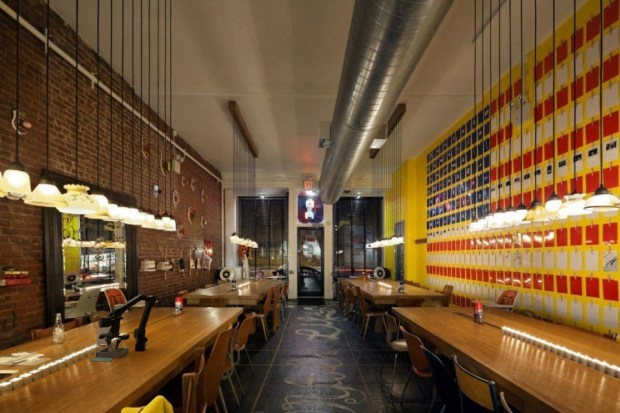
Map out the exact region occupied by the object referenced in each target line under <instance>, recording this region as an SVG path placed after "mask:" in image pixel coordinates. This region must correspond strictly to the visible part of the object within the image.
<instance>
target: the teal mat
mask: <svg viewBox="0 0 620 413" xmlns="http://www.w3.org/2000/svg"><path fill="white" fill-rule="evenodd" d="M113 360H114V358H109V357H96V356H95V357H94V358H92V359H90V360H89V362H103V363H106V362H107V363H108V362H111V361H113Z"/></svg>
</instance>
